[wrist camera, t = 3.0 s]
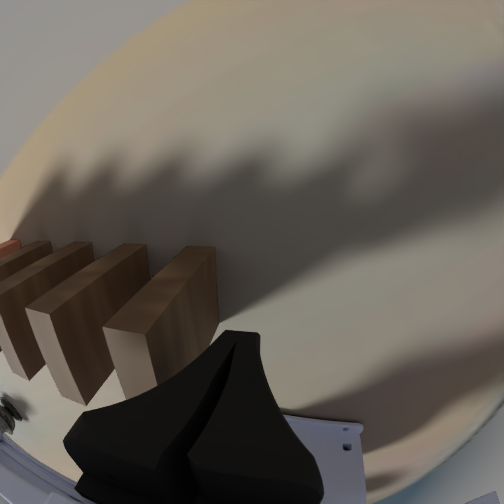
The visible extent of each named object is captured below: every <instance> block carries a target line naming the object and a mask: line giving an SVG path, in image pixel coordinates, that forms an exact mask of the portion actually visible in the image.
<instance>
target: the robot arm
mask: <svg viewBox="0 0 504 504" xmlns="http://www.w3.org/2000/svg"><path fill="white" fill-rule="evenodd" d="M363 429H364V428H363V425H362V424H360V423H349V422H337V421H327V420H318V419H310V418H303V417H296V416H289V415H283V414H282V412H281V411H280V409H279V407H278V405H277V403H276V401H275V399H274V396H273V394H272V392H271V390H270V387H269V384H268V382H267V379H266V376H265V373H264V369H263V365H262V361H261V356H260V335H259V334H258V333H257V332H244V331H233V330H225V331H224V332H223V333H222V334H221V335H220V336H219V337H218V338H217V339H216V340H215V341H214V342H213V343H212V344H211V345H210V346H209V347H208V348H207V349H206V350H205V351H204V352H202V353H201V354H200V355H199V356H198V357H197V358H196V359H195V360H193V361H192V362H191V363H190V364H188V365H187V366H186V367H185V368H183V369H182V370H181V371H180V372H178V373H177V374H175V375H174V376H172V377H171V378H169V379H168V380H166V381H165V382H163V383H161V384H160V385H158V386H156V387H154V388H152V389H150V390H148V391H146V392H144V393H142V394H140V395H138V396H135V397H133V398H130V399H128V400H125V401H122V402H119V403H116V404H113V405H110V406H106V407H102V408H98V409H94V410H90V411H85V412H83V413H82V414H81V416H80V417H79V418H78V419H77V421H76V422H75V424H74V425H73V426H72V428H71V429H70V431H69V432H68V433H67V435H66V436H65V438H64V440H63V443H64V447H65V449H66V451H67V452H68V454H69V455H70V456H71V458H72V459H73V460H74V462H75V463H76V464H77V465H78V467H79V468H80V469H81V470H82V472H83V474H82V476H81V478H80V479H79V481H78V483H77V482H75V481H73V480H71V479H69V478H68V477H66V476H64V475H62V474H60V473H58V472H57V471H55V470H53V469H52V468H50V467H48V466H46V465H45V464H43V463H42V462H40V461H38V460H37V459H35V458H34V457H32V456H31V455H29V454H28V453H26V452H25V451H23V450H22V449H20V448H19V447H17V446H16V445H15V444H13V443H12V442H11V441H9V440H8V439H6V438H5V437H4V436H3V434H2V432H1V431H0V495H1V496H2V497H3V498H4V499H6V500H7V501H8V502H9V503H10V504H366V482H365V472H364V463H363V455H362V447H361V440H360V434H361V432H362V431H363ZM465 504H500V503H499V499H498V496H497V493H496V491H493V492H491V493H488V494H486V495H484V496H481V497H479V498H476V499H474V500H471V501H469V502H467V503H465Z"/></svg>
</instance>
